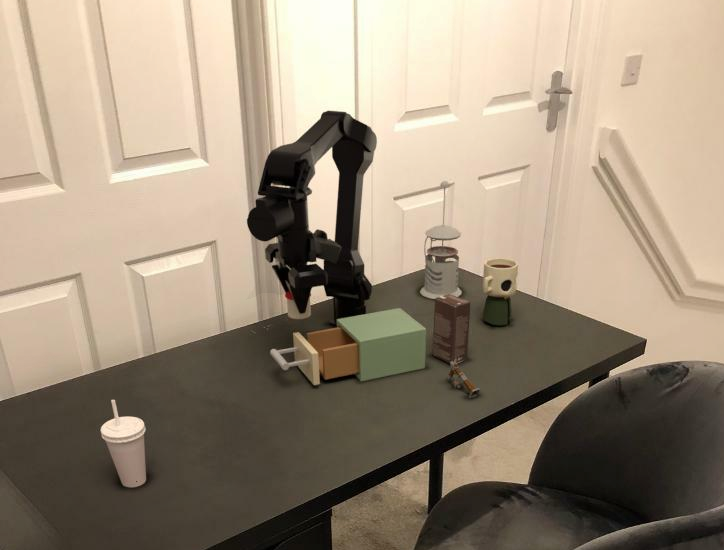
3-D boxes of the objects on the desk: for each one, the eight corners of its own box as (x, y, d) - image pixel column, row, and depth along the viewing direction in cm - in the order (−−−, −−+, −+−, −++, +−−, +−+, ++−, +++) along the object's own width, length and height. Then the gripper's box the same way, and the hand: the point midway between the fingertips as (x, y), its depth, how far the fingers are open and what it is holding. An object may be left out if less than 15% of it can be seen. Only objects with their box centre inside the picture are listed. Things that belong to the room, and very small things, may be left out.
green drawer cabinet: (360, 381, 155) (360, 341, 150) (338, 357, 163) (336, 319, 159) (425, 368, 159) (426, 329, 155) (399, 345, 168) (399, 307, 163)
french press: (433, 302, 187) (436, 189, 173) (408, 286, 196) (410, 177, 182) (469, 295, 191) (476, 183, 177) (444, 279, 200) (448, 172, 185)
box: (468, 359, 162) (471, 301, 156) (451, 366, 160) (454, 307, 153) (447, 349, 166) (450, 292, 159) (431, 355, 164) (432, 297, 157)
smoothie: (116, 470, 130) (98, 391, 122) (158, 468, 130) (142, 389, 122) (109, 493, 124) (89, 411, 116) (152, 491, 125) (135, 409, 117)
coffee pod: (281, 315, 156) (279, 294, 154) (299, 307, 159) (298, 287, 157) (299, 321, 154) (297, 301, 151) (317, 314, 157) (316, 293, 154)
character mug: (495, 334, 173) (499, 273, 165) (468, 325, 177) (471, 265, 169) (524, 318, 179) (530, 260, 172) (498, 310, 183) (502, 252, 176)
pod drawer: (286, 391, 150) (284, 359, 146) (268, 368, 158) (266, 337, 154) (375, 372, 156) (375, 341, 152) (354, 351, 164) (353, 321, 160)
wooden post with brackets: (448, 374, 155) (456, 357, 151) (472, 404, 152) (480, 388, 148) (441, 376, 154) (448, 360, 150) (465, 407, 151) (473, 391, 147)
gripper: (354, 234, 142) (356, 319, 151) (317, 207, 156) (321, 286, 165) (292, 242, 139) (298, 329, 147) (261, 214, 153) (268, 294, 162)
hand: (298, 308), depth 156 cm, fingers closed on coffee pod, 4 cm apart
